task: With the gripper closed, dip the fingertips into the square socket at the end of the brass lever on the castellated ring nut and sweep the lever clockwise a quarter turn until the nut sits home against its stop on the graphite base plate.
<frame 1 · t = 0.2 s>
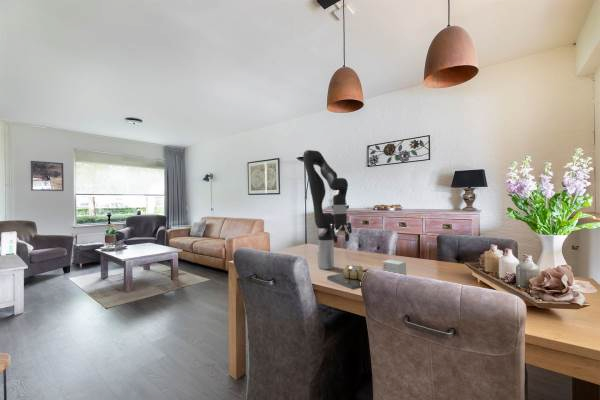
hand: (341, 241, 147), 17 cm above the table, tool pointing down, fingers open, 8 cm apart
small box: (394, 291, 116), on the table
nut base plate: (351, 280, 132), on the table
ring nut: (359, 273, 131), point 4 cm above the table, hinge at 90.0°
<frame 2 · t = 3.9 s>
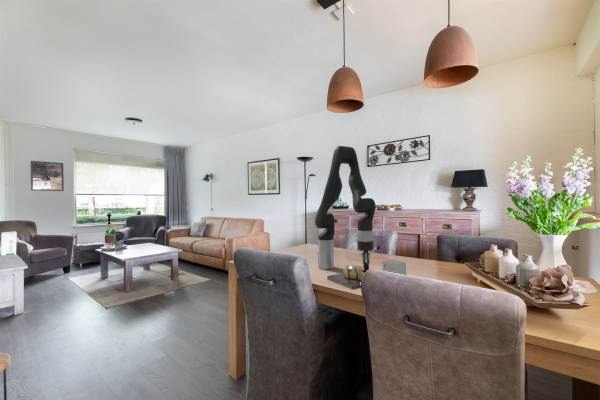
hand: (366, 275, 125), 4 cm above the table, tool pointing down, fingers closed
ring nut: (359, 273, 131), point 4 cm above the table, hinge at 88.3°, touching gripper
everything else where it was.
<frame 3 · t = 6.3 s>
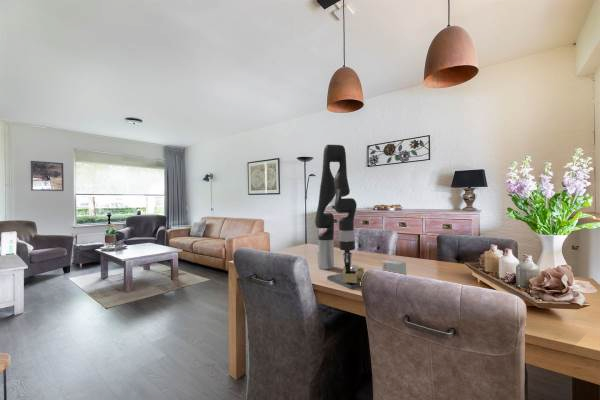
hand: (348, 275, 126), 4 cm above the table, tool pointing down, fingers closed
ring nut: (352, 273, 130), point 4 cm above the table, hinge at 39.2°, touching gripper
everything else where it was.
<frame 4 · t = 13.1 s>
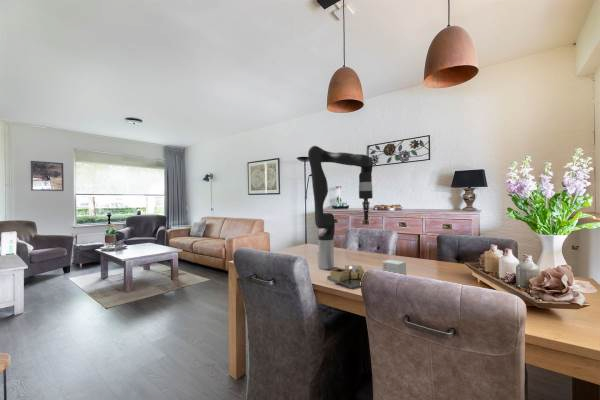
hand: (366, 220, 149), 29 cm above the table, tool pointing down, fingers closed
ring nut: (348, 272, 132), point 4 cm above the table, hinge at 4.5°
everything else where it was.
at the end: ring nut at +4° (first picture: +90°); small box moved 0.3 cm from its start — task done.
